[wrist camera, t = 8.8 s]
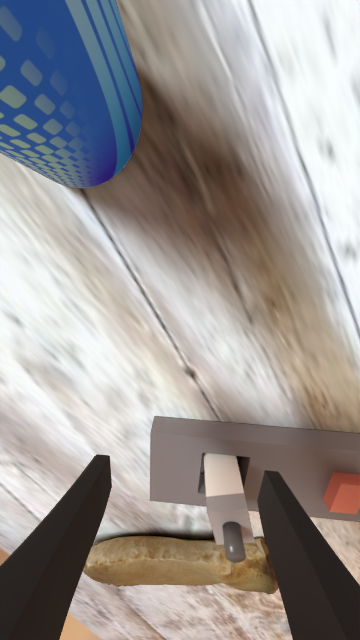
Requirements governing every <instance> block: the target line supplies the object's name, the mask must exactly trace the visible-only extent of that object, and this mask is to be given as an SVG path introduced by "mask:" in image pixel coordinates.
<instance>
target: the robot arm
mask: <svg viewBox="0 0 360 640" xmlns="http://www.w3.org/2000/svg"><path fill="white" fill-rule="evenodd" d="M111 487H112V483H111V469H110V456H107V455H96V456H94V458H93V459H92V460H91V462H90V463H89V464H88V466H87V467H86V468H85V470H84V471H83V472H82V474H81V475H80V476H79V477H78V479H77V480H76V481H75V483H74V484H73V485H72V486H71V488H70V489H69V490H68V491H67V492H66V494H65V495H64V496H63V497H62V498H61V500H60V501H59V502H58V503H57V504H56V506H55V507H54V508H53V509H52V510H51V511H50V513H49V514H48V515H47V516H46V517H45V518H44V519H43V521H42V522H41V523H40V524H39V525H38V526H37V527H36V528H35V530H34V531H33V532H32V533H31V534H30V535H29V536H28V537H27V538H26V539H25V541H24V542H23V543H22V544H21V545H20V546H19V547H18V548H17V549H16V550H15V551H14V552H13V553H12V554H11V555H10V556H9V557H8V559H7V560H6V561H5V562H4V563H3V564H2V565H1V566H0V640H59V639H60V636H61V632H62V629H63V626H64V623H65V619H66V616H67V613H68V610H69V607H70V604H71V601H72V598H73V596H74V593H75V590H76V587H77V585H78V582H79V579H80V577H81V574H82V571H83V569H84V566H85V563H86V561H87V558H88V555H89V553H90V550H91V548H92V545H93V542H94V540H95V537H96V534H97V532H98V529H99V526H100V524H101V521H102V518H103V515H104V512H105V509H106V505H107V502H108V498H109V495H110V491H111ZM257 503H258V508H259V514H260V519H261V524H262V529H263V533H264V537H265V540H266V544H267V548H268V551H269V555H270V558H271V562H272V565H273V569H274V572H275V576H276V579H277V583H278V586H279V590H280V593H281V597H282V600H283V604H284V607H285V611H286V614H287V618H288V622H289V626H290V630H291V634H292V638H293V640H360V585H359V584H358V582H357V581H356V580H355V579H354V577H353V576H352V575H351V573H350V572H349V571H348V570H347V568H346V567H345V566H344V564H343V563H342V562H341V560H340V559H339V558H338V556H337V555H336V554H335V552H334V551H333V550H332V548H331V547H330V546H329V544H328V543H327V541H326V540H325V539H324V537H323V536H322V534H321V533H320V532H319V530H318V529H317V527H316V526H315V525H314V523H313V522H312V520H311V519H310V517H309V516H308V515H307V513H306V512H305V510H304V509H303V507H302V506H301V504H300V503H299V501H298V500H297V498H296V497H295V495H294V494H293V492H292V491H291V489H290V488H289V486H288V485H287V483H286V482H285V480H284V479H283V477H282V476H281V474H280V473H279V472H278V471H268V470H265V471H264V475H263V479H262V483H261V487H260V491H259V495H258V499H257Z"/></svg>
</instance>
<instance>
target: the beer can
mask: <svg viewBox="0 0 360 640" xmlns="http://www.w3.org/2000/svg"><path fill="white" fill-rule="evenodd" d="M142 116H143V102H142V92H141V86H140V81H139V77H138V73H137V70H136V66H135V63H134V60H133V56H132V53H131V50H130V46H129V43H128V40H127V36H126V33H125V30H124V26H123V23H122V20H121V16H120V13H119V10H118V6H117V3H116V0H0V153H2V154H4V155H5V156H7V157H9V158H11V159H13V160H15V161H17V162H19V163H21V164H22V165H24V166H26V167H28V168H30V169H32V170H34V171H36V172H38V173H39V174H41V175H43V176H45V177H47V178H49V179H51V180H53V181H55V182H57V183H59V184H62V185H65V186H68V187H73V188H91V187H96V186H99V185H102V184H104V183H106V182H108V181H109V180H111V179H112V178H114V177H115V176H116V175H117V174H118V173H119V172H120V171H121V170H122V169H123V168H124V167H125V166H126V164H127V163H128V161H129V160H130V158H131V156H132V154H133V153H134V150H135V148H136V146H137V143H138V139H139V136H140V131H141V126H142Z"/></svg>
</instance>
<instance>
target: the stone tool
mask: <svg viewBox="0 0 360 640" xmlns="http://www.w3.org/2000/svg"><path fill="white" fill-rule="evenodd" d="M254 541H255V542H250V543H244V548H245V554H246V559H245V560H244V561H242V562H239V563H233V562H230V561H228V560H227V559H226V556H225V548H224V544H222V545H217V544H216V540H183V539H177V538H169V537H159V536H131V537H119V538H114V539H111V540H106V541H103V542H101V543H99V544H97V545H95V546H93V547H92V548H91V550H90V553H89V555H88V558H87V561H86V563H85V566H84V569H83V572H84V573H85V574H86V575H87V576H89V577H90V578H91V579H93V580H95V581H97V582H101V583H107V584H109V585H110V584H113V585H116V586H118V587H119V586H122V585H123V586H134V585H140V584H141V585H164V584H167V585H195V586H197V585H200V586H201V585H213V584H218V583H220V584H221V583H223V584H226V585H228V586H231V587H233V588H236V589H238V590H243V591H253V592H265V593H267V594H273V593H275V592H276V590H277V589H278V588H279V586H278V583H277V579H276V576H275V572H274V569H273V565H272V562H271V558H270V555H269V551H268V548H267V545H266V544H265V542H264V540H263V539H262V538H257V539H256V538H254Z"/></svg>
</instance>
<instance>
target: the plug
mask: <svg viewBox="0 0 360 640" xmlns="http://www.w3.org/2000/svg"><path fill="white" fill-rule="evenodd" d="M204 470H205V486H206V503H207V513H208V517H209V520H210V524H211V527H212V530H213V534H214V537H215V540H216V544H217V545H222V544H224V548H225V556H226V559H227V560H228V561H230V562H233V563H239V562H242V561H244V560H245V559H246V554H245V548H244V543H250V542H255V541H254V536H253V532H252V527H251V522H250V517H249V513H248V508H247V503H246V499H245V494H244V490H243V485H242V481H241V476H240V472H239V467H238V463H237V458H236V456H232V455H221V454H211V453H204Z"/></svg>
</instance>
